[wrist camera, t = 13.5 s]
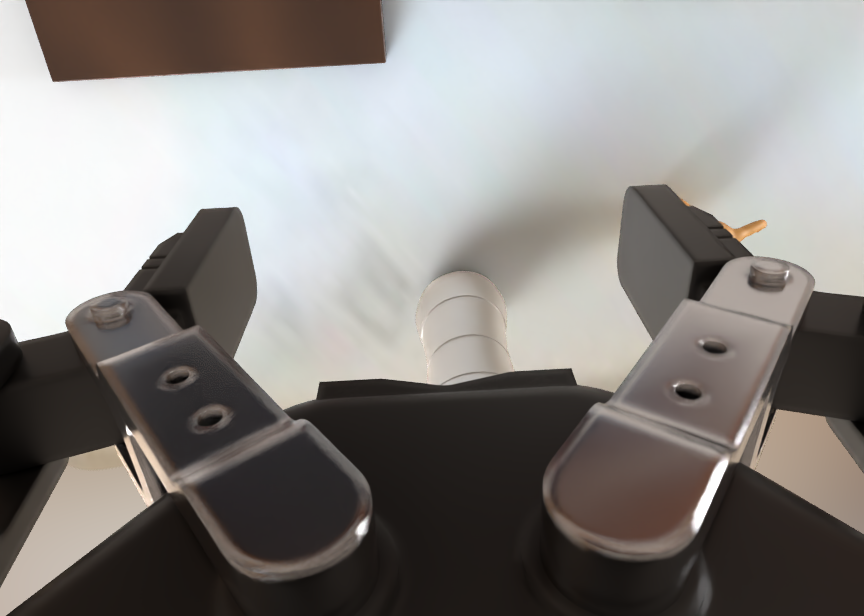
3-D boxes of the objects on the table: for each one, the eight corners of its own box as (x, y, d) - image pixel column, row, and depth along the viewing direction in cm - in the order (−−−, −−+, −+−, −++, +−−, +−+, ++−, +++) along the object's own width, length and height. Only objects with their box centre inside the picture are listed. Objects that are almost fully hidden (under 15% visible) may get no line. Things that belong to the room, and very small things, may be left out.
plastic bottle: (397, 295, 49) (391, 499, 32) (467, 242, 47) (502, 429, 30) (450, 349, 52) (472, 563, 34) (519, 301, 50) (579, 503, 32)
